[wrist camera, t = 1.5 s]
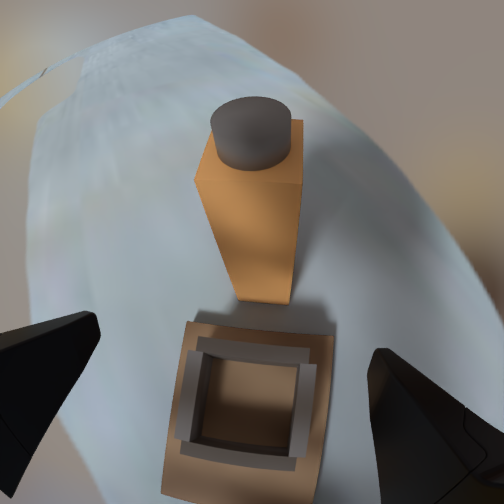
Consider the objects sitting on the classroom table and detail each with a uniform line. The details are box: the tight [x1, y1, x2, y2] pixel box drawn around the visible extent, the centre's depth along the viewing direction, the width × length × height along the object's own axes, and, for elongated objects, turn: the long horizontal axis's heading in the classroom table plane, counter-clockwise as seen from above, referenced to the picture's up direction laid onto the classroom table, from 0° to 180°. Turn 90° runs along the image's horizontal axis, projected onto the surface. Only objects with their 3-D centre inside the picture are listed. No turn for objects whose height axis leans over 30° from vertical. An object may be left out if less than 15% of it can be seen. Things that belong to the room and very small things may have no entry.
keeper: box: [161, 321, 334, 504], centre depth 16 cm, size 14×11×4 cm
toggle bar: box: [194, 97, 303, 305], centre depth 16 cm, size 4×4×16 cm
